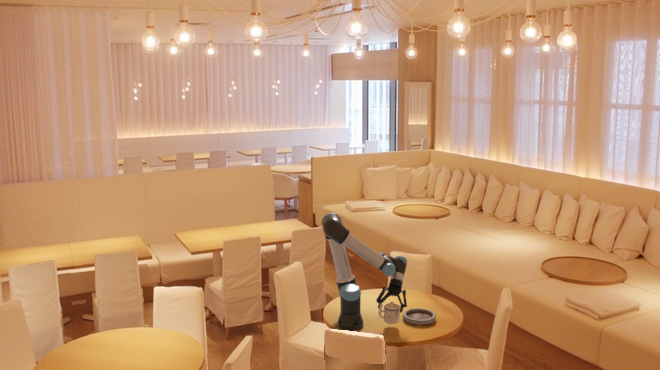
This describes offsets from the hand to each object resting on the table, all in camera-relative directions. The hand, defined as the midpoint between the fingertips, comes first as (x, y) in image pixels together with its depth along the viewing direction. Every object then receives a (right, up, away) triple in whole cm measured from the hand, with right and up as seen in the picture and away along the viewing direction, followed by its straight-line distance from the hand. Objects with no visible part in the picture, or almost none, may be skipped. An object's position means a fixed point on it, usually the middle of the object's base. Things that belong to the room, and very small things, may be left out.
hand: (388, 315), depth 368 cm
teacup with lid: (+1, -4, +4) cm, 6 cm away
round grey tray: (+20, -5, +15) cm, 25 cm away
